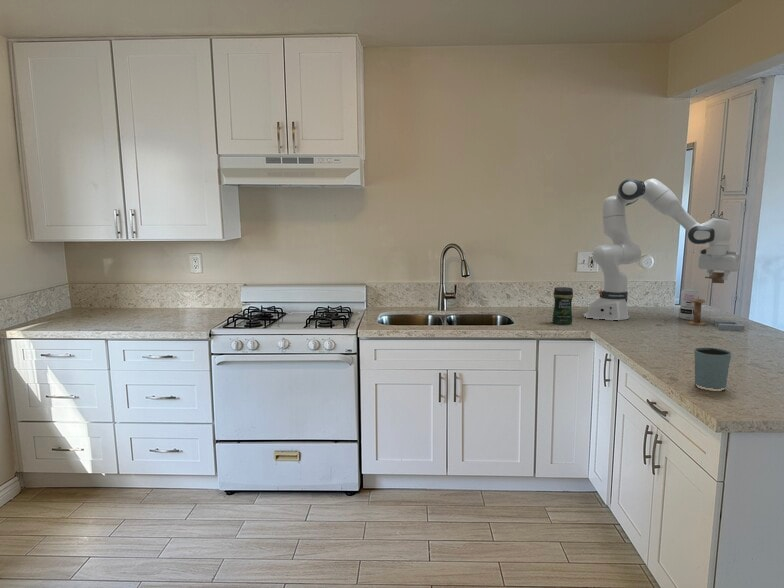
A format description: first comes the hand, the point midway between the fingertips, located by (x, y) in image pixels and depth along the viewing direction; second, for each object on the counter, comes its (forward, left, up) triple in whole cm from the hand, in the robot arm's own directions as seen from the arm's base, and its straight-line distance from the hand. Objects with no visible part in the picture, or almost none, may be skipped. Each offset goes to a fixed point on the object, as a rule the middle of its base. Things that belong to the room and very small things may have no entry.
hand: (717, 279), depth 263 cm
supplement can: (-10, +10, -22) cm, 26 cm away
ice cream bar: (-1, 0, -2) cm, 2 cm away
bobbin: (-9, -4, -22) cm, 24 cm away
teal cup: (-26, -108, -22) cm, 114 cm away
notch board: (+3, -11, -22) cm, 25 cm away
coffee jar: (-72, -16, -22) cm, 77 cm away
